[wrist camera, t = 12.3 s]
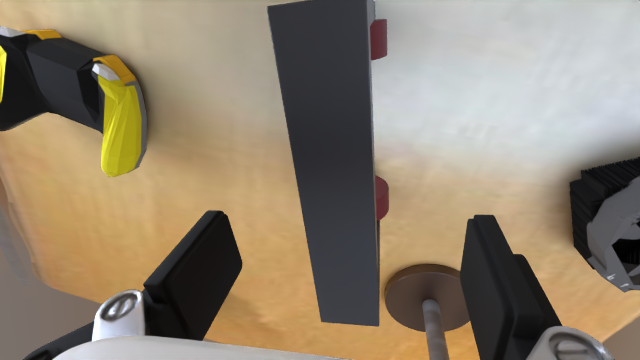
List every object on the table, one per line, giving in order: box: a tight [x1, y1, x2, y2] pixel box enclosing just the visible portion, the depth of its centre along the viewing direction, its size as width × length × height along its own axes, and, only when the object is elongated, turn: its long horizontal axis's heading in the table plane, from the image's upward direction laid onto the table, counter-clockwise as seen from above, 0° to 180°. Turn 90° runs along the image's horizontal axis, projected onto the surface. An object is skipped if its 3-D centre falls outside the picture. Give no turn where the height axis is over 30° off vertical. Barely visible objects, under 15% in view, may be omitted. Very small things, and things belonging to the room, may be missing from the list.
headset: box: [267, 0, 389, 326], centre depth 21 cm, size 5×17×14 cm, turn 7°
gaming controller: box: [0, 26, 147, 177], centre depth 28 cm, size 15×6×10 cm
